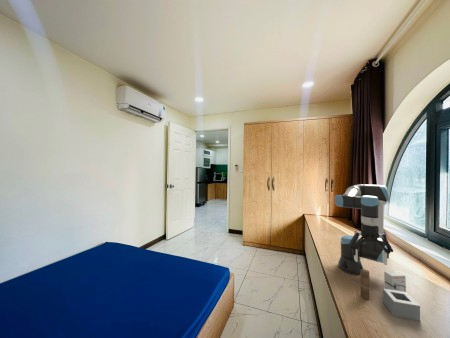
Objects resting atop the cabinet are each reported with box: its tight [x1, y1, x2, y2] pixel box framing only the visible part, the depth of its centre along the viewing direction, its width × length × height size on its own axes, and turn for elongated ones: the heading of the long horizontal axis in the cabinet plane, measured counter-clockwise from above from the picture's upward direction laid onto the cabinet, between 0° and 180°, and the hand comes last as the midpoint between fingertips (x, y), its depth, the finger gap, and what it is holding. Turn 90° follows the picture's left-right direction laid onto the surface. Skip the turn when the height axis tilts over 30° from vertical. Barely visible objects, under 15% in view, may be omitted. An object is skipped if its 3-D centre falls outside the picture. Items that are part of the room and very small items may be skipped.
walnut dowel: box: [359, 268, 371, 301], centre depth 101 cm, size 4×4×15 cm
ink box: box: [383, 270, 407, 292], centre depth 104 cm, size 9×5×12 cm, turn 92°
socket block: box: [382, 287, 421, 322], centre depth 91 cm, size 10×10×7 cm
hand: (370, 262), depth 99 cm, fingers open, 13 cm apart
